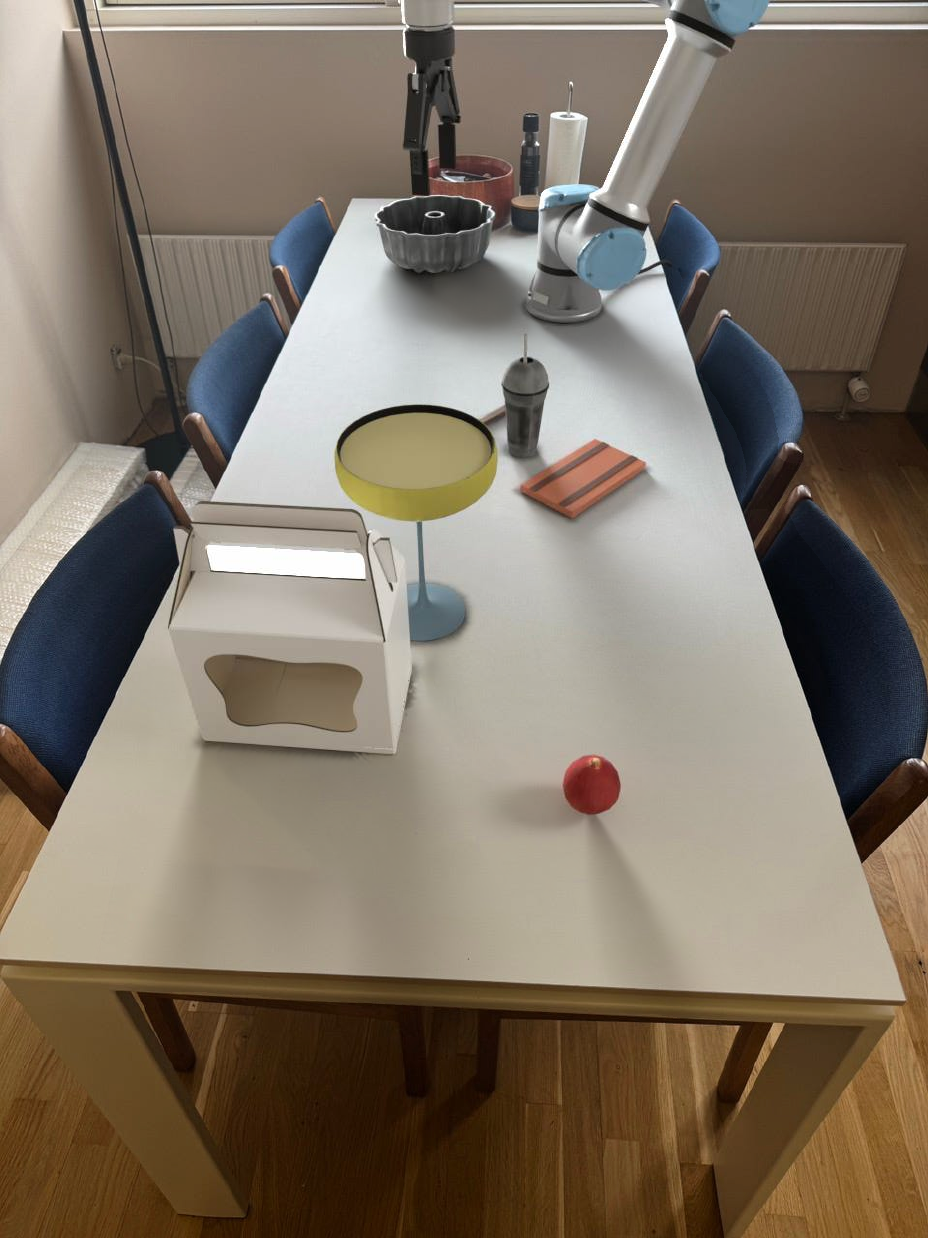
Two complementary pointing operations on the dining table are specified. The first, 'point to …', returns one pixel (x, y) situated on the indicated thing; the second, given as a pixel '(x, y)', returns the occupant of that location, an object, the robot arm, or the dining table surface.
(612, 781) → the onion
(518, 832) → the dining table surface
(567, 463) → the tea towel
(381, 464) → the cocktail glass
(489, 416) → the spatula
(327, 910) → the dining table surface
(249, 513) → the gable box
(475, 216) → the bundt pan
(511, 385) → the beverage cup
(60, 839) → the dining table surface
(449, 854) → the dining table surface
